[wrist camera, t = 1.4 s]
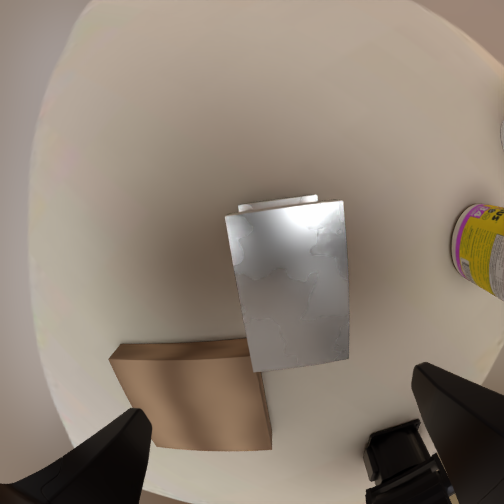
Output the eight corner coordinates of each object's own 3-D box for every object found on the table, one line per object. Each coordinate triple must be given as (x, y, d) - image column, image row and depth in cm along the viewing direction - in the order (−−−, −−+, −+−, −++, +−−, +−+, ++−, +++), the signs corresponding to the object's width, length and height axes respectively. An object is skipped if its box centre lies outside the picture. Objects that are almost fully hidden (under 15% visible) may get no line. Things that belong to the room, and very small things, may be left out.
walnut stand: (254, 337, 20) (253, 355, 18) (271, 431, 23) (271, 449, 21) (120, 343, 21) (108, 359, 19) (162, 430, 24) (156, 446, 22)
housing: (313, 194, 18) (342, 200, 11) (324, 303, 20) (348, 358, 13) (239, 204, 18) (225, 216, 11) (257, 313, 20) (253, 372, 13)
